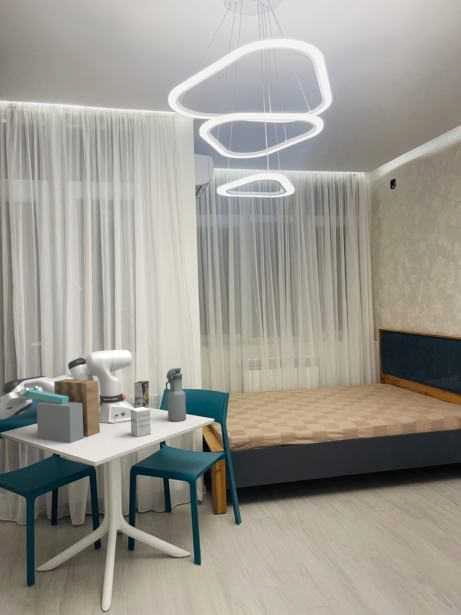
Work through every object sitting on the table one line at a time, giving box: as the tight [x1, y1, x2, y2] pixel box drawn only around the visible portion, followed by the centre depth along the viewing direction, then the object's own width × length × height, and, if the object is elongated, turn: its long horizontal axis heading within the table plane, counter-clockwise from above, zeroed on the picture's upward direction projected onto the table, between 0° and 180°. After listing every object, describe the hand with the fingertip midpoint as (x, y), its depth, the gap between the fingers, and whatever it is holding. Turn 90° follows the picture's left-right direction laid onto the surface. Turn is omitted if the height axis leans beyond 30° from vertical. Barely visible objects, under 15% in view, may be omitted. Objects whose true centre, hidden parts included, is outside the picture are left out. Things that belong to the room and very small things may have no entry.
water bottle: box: [165, 367, 187, 423], centre depth 252 cm, size 10×10×28 cm
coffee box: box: [133, 380, 150, 408], centre depth 287 cm, size 9×6×16 cm
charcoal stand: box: [36, 401, 84, 444], centre depth 222 cm, size 22×8×17 cm, turn 63°
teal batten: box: [23, 388, 69, 404], centre depth 227 cm, size 28×4×3 cm, turn 65°
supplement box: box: [130, 407, 152, 438], centre depth 224 cm, size 7×7×13 cm
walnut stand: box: [54, 379, 101, 438], centre depth 232 cm, size 22×8×26 cm, turn 63°
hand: (32, 388), depth 230 cm, fingers closed on teal batten, 4 cm apart
